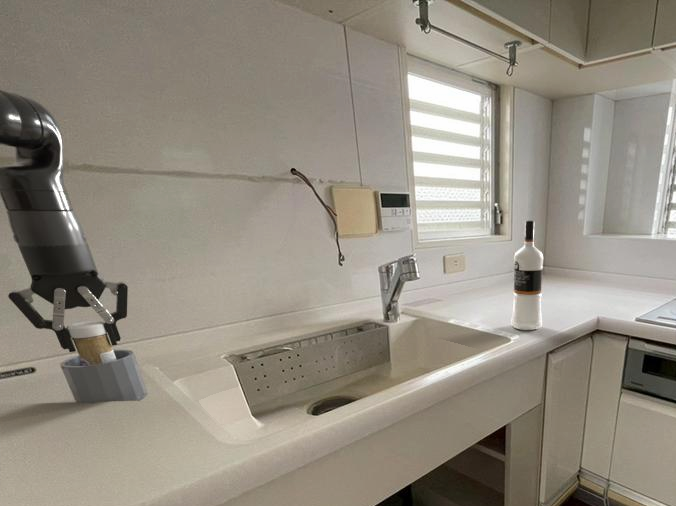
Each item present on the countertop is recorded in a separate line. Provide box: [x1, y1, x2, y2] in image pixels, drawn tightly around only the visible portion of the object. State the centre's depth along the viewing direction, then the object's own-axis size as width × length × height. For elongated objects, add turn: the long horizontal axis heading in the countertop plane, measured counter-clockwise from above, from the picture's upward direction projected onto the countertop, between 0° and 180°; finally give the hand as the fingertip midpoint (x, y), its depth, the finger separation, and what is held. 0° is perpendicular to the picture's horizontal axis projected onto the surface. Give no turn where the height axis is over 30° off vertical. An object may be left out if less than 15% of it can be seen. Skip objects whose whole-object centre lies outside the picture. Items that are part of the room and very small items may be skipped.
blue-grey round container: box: [59, 349, 148, 404], centre depth 70 cm, size 9×9×8 cm
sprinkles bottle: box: [66, 320, 117, 366], centre depth 69 cm, size 5×5×13 cm
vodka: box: [510, 220, 544, 331], centre depth 116 cm, size 9×9×30 cm
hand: (93, 347), depth 68 cm, fingers closed on sprinkles bottle, 4 cm apart
